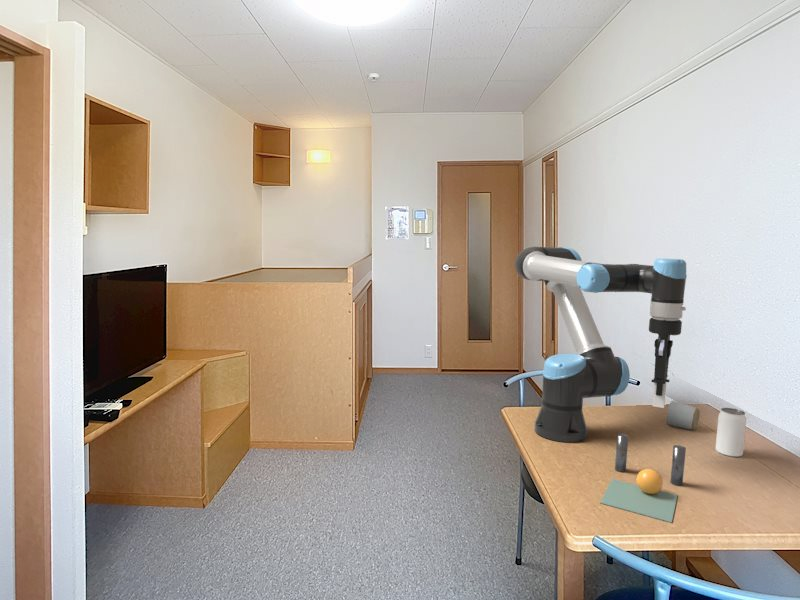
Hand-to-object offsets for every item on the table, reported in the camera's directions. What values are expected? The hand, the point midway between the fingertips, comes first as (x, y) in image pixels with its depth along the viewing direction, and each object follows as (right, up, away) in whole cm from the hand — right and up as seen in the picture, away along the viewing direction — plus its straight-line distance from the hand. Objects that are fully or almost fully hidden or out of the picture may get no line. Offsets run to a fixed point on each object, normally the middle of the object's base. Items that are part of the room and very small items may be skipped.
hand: (658, 406), depth 137 cm
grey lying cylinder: (+22, -12, +28) cm, 37 cm away
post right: (-2, -16, -13) cm, 20 cm away
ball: (-11, -13, -18) cm, 25 cm away
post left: (-13, -15, -6) cm, 20 cm away
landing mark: (-15, -16, -21) cm, 31 cm away
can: (+23, -15, +7) cm, 28 cm away
